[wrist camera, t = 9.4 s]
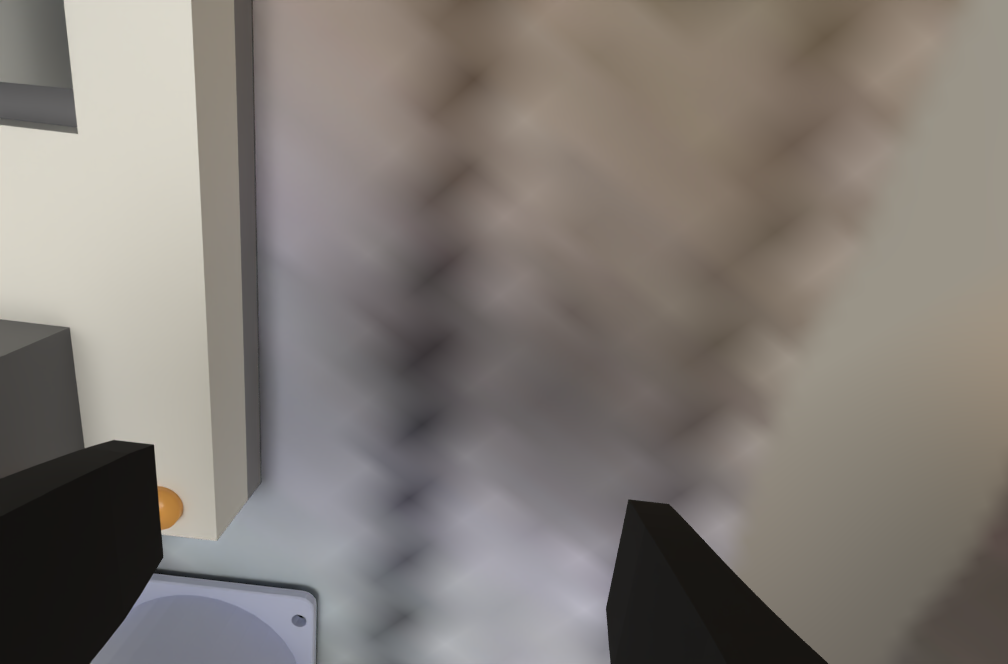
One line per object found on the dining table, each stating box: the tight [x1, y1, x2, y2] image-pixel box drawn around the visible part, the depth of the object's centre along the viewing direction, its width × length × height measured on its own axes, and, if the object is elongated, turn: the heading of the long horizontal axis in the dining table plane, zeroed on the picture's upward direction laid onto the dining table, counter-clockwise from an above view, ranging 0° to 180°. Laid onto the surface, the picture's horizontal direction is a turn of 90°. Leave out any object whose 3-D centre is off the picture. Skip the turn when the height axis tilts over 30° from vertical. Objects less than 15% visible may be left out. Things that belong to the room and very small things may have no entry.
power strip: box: [0, 0, 261, 541], centre depth 16 cm, size 18×10×3 cm, turn 174°
